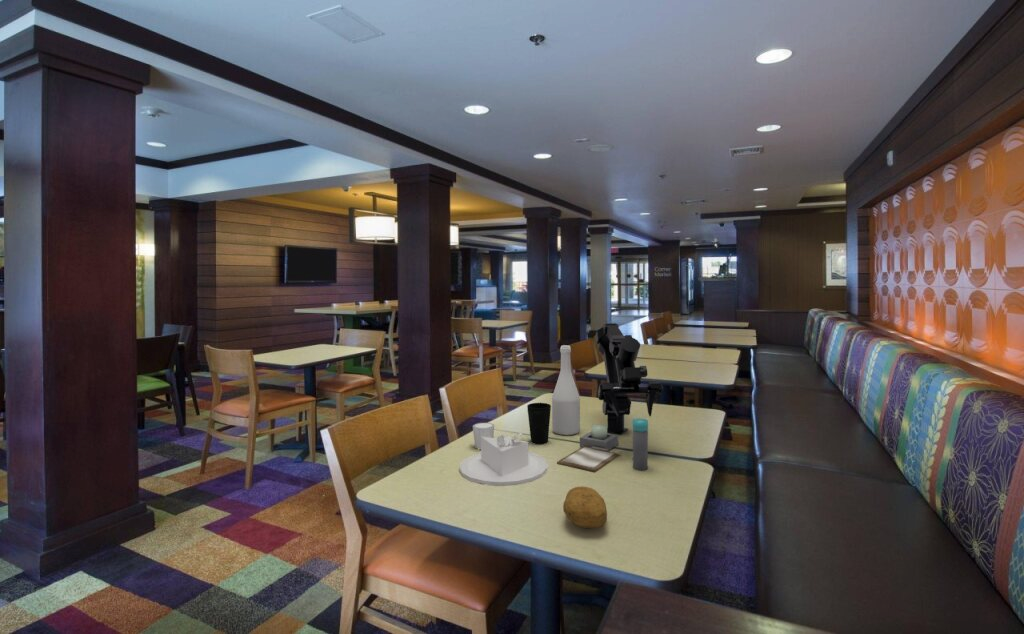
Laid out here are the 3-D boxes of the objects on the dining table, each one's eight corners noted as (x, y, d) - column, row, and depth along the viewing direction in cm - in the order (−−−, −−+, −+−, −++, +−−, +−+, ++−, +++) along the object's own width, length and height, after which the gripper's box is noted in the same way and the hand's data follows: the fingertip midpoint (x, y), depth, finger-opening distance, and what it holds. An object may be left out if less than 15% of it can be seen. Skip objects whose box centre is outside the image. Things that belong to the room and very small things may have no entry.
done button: (595, 434, 167) (595, 423, 166) (609, 437, 164) (609, 426, 163) (588, 438, 163) (588, 427, 162) (602, 441, 160) (602, 430, 159)
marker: (636, 464, 147) (636, 417, 146) (649, 467, 144) (650, 419, 143) (630, 468, 144) (630, 421, 142) (644, 471, 141) (644, 423, 140)
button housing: (592, 439, 170) (592, 430, 169) (618, 444, 164) (618, 435, 164) (579, 446, 162) (579, 437, 162) (606, 452, 157) (606, 442, 157)
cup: (551, 438, 172) (551, 402, 171) (551, 445, 164) (550, 408, 163) (528, 437, 172) (528, 402, 171) (526, 445, 165) (526, 408, 164)
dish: (565, 467, 146) (565, 428, 145) (504, 495, 128) (503, 451, 127) (503, 448, 163) (502, 413, 162) (441, 470, 145) (440, 431, 144)
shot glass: (478, 451, 159) (477, 429, 159) (469, 445, 165) (469, 424, 165) (498, 448, 162) (498, 426, 162) (489, 442, 168) (488, 421, 168)
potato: (563, 536, 107) (563, 503, 106) (563, 508, 120) (562, 479, 119) (608, 537, 106) (608, 505, 106) (603, 509, 119) (603, 480, 118)
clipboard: (583, 448, 161) (583, 444, 161) (619, 455, 154) (619, 451, 154) (557, 463, 148) (557, 459, 148) (594, 472, 141) (594, 467, 141)
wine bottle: (581, 435, 174) (581, 347, 171) (553, 436, 174) (552, 348, 171) (578, 427, 183) (577, 343, 181) (551, 427, 183) (550, 344, 181)
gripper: (599, 356, 154) (605, 401, 144) (661, 355, 154) (672, 400, 144) (595, 377, 162) (601, 421, 152) (654, 376, 162) (664, 420, 152)
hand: (634, 415), depth 150 cm, fingers open, 9 cm apart
